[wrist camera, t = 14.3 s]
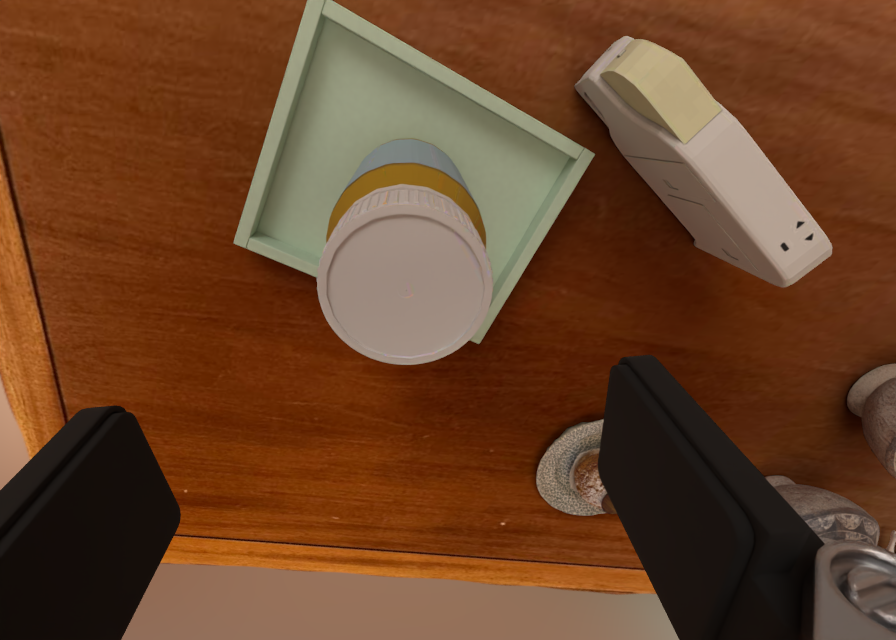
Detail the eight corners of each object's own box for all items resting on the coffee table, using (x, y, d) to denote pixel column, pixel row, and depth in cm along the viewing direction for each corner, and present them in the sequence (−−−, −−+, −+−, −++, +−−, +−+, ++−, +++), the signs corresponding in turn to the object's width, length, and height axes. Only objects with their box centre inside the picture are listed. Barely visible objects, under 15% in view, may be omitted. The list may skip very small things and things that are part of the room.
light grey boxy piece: (591, 54, 28) (728, 220, 32) (557, 90, 29) (695, 248, 33) (664, 8, 18) (855, 261, 22) (608, 66, 19) (801, 300, 22)
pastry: (523, 505, 44) (534, 547, 40) (548, 408, 39) (563, 446, 35) (638, 506, 46) (660, 548, 42) (677, 413, 40) (707, 450, 36)
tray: (245, 232, 30) (232, 243, 28) (319, -5, 24) (310, -13, 22) (475, 329, 35) (479, 344, 33) (582, 149, 29) (595, 154, 27)
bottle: (445, 258, 31) (470, 390, 18) (344, 232, 30) (289, 353, 16) (477, 156, 28) (536, 223, 15) (366, 121, 27) (321, 161, 13)
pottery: (964, 364, 40) (1162, 466, 29) (767, 540, 50) (862, 664, 39) (878, 322, 37) (1064, 417, 27) (688, 517, 47) (768, 643, 36)
